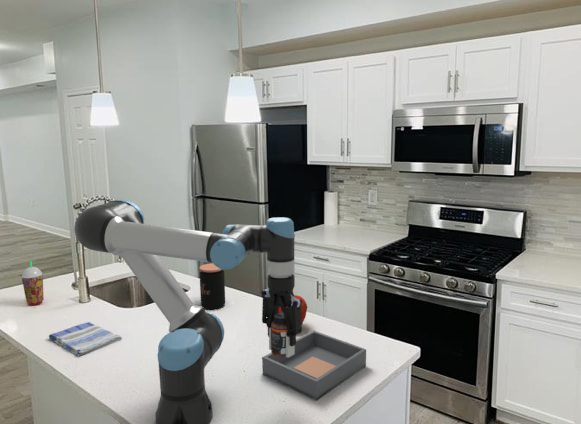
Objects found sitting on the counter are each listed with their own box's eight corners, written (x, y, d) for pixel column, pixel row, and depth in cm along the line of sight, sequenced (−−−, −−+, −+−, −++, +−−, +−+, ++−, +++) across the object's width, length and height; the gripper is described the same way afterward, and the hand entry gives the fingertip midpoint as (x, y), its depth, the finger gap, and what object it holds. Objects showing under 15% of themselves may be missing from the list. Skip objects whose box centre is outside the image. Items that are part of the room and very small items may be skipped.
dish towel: (78, 359, 161) (78, 351, 161) (47, 340, 176) (46, 333, 175) (123, 341, 174) (123, 334, 174) (91, 325, 189) (90, 318, 188)
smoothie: (20, 306, 208) (15, 262, 204) (35, 299, 216) (30, 257, 212) (35, 308, 206) (30, 264, 202) (50, 301, 213) (45, 259, 210)
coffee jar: (198, 303, 209) (196, 265, 206) (221, 299, 214) (220, 262, 211) (204, 312, 200) (202, 271, 197) (228, 307, 204) (227, 268, 201)
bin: (316, 400, 135) (316, 381, 134) (262, 374, 149) (262, 357, 148) (365, 366, 154) (366, 349, 153) (313, 346, 168) (313, 330, 167)
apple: (280, 336, 176) (279, 301, 173) (272, 324, 187) (272, 290, 185) (311, 332, 179) (311, 297, 176) (302, 320, 190) (302, 287, 188)
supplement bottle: (289, 358, 129) (289, 320, 127) (268, 356, 131) (268, 318, 129) (294, 349, 135) (294, 312, 133) (274, 347, 136) (273, 310, 134)
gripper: (316, 277, 125) (315, 357, 129) (266, 264, 138) (267, 337, 142) (297, 284, 120) (297, 368, 124) (247, 270, 132) (249, 346, 137)
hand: (281, 351), depth 133 cm, fingers closed on supplement bottle, 6 cm apart
